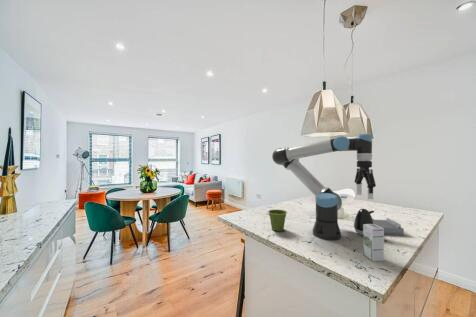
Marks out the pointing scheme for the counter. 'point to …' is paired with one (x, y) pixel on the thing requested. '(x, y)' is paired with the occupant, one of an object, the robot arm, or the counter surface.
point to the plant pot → (277, 219)
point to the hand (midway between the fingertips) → (364, 196)
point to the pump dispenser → (362, 220)
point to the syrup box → (373, 242)
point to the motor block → (389, 227)
